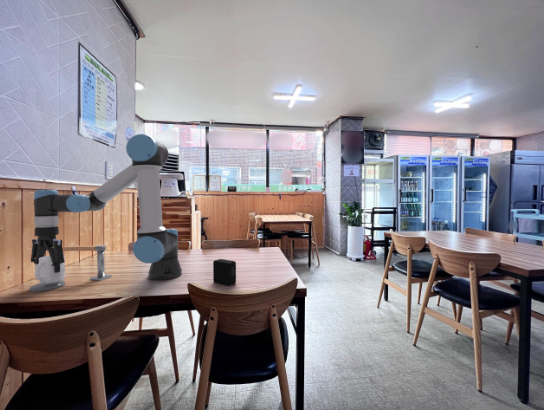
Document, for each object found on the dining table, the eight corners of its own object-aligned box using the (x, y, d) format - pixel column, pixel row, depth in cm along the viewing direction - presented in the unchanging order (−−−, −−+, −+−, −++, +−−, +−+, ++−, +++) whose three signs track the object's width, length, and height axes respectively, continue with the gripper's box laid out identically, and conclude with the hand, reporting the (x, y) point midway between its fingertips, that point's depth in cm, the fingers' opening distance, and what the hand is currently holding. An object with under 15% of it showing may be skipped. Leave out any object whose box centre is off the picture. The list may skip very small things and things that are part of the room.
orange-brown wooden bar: (102, 251, 113) (102, 246, 113) (59, 251, 112) (59, 247, 112) (107, 249, 117) (107, 245, 117) (66, 249, 116) (66, 245, 116)
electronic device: (229, 286, 104) (229, 263, 104) (213, 282, 109) (213, 260, 109) (236, 283, 108) (236, 261, 107) (219, 279, 113) (219, 258, 113)
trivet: (71, 283, 107) (71, 281, 107) (42, 293, 96) (42, 290, 96) (52, 281, 110) (52, 279, 110) (22, 290, 99) (22, 288, 99)
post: (111, 276, 117) (111, 250, 117) (100, 280, 111) (99, 252, 111) (101, 275, 119) (101, 249, 118) (89, 279, 113) (89, 251, 113)
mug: (45, 286, 97) (45, 261, 97) (24, 287, 97) (24, 261, 97) (70, 277, 109) (69, 254, 109) (51, 277, 109) (50, 254, 109)
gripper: (75, 225, 104) (76, 278, 104) (38, 224, 109) (39, 274, 109) (55, 227, 96) (56, 284, 97) (17, 226, 101) (18, 280, 102)
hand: (47, 279), depth 103 cm, fingers closed on mug, 8 cm apart
